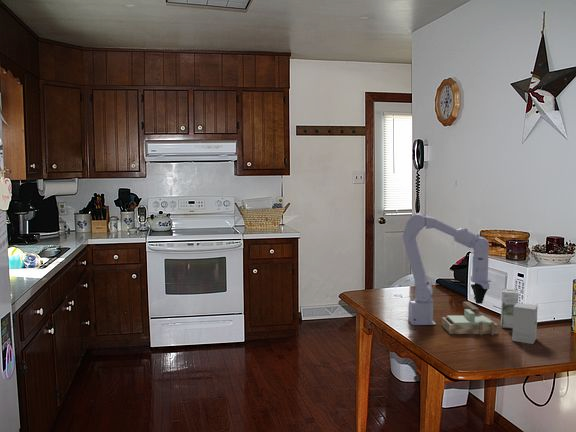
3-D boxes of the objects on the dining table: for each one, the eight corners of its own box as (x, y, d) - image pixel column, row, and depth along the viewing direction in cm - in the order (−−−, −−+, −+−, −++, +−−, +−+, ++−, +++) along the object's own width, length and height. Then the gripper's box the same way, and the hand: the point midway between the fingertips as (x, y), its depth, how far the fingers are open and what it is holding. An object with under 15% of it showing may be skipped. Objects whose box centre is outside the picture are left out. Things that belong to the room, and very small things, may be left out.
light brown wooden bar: (472, 314, 211) (473, 309, 211) (462, 306, 223) (463, 301, 223) (479, 314, 211) (479, 309, 211) (468, 306, 223) (468, 301, 223)
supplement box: (534, 344, 189) (535, 309, 188) (511, 340, 193) (512, 306, 192) (536, 338, 195) (538, 304, 194) (515, 335, 199) (516, 302, 198)
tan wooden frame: (450, 335, 200) (451, 322, 199) (440, 325, 212) (441, 313, 212) (499, 335, 200) (499, 322, 199) (486, 324, 213) (486, 313, 212)
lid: (454, 324, 201) (454, 314, 201) (446, 317, 210) (447, 308, 210) (492, 324, 201) (493, 314, 201) (483, 317, 211) (483, 307, 210)
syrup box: (516, 325, 212) (517, 289, 211) (517, 329, 206) (518, 292, 205) (500, 323, 214) (501, 288, 212) (501, 328, 208) (502, 291, 207)
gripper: (497, 272, 199) (496, 308, 201) (483, 265, 214) (482, 298, 215) (479, 272, 199) (477, 308, 201) (465, 265, 214) (464, 298, 215)
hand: (479, 303), depth 208 cm, fingers closed
